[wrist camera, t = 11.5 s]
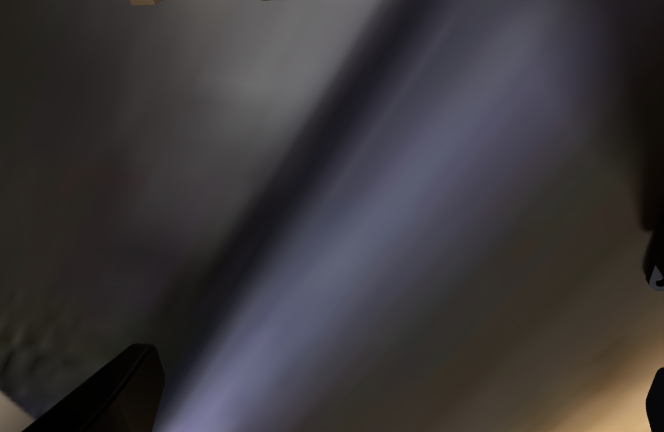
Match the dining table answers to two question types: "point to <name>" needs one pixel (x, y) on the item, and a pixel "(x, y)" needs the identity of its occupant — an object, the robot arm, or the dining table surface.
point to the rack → (149, 2)
